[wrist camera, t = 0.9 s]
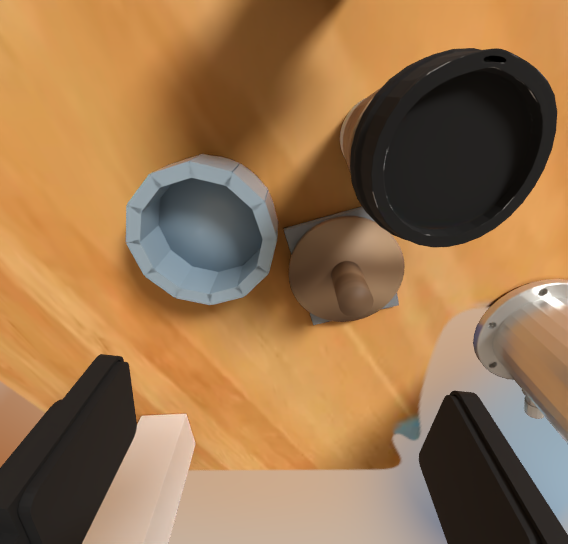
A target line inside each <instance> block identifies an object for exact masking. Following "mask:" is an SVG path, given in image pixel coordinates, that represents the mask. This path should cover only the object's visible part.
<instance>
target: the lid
mask: <svg viewBox="0 0 568 544" xmlns="http://www.w3.org/2000/svg"><path fill="white" fill-rule="evenodd" d="M403 275H404V258H403V253H402V251H401V248H400V246H399V244H398V243H397V241H396V240H395V239H394V237H393V236H392V235H391V234H390V233H389V232H387V231H386V230H384V229H383V228H381V227H380V226H379V225H378V224H377V223H376V222H375V221H372V220H370V219H367V218H364V217H358V216H340V217H335V218H331V219H328V220H325V221H323V222H321V223H319V224H317V225H316V226H314V227H312V228H311V229H310V230H309V231H307V232H306V233H305V234H304V235H303V236H302V237H301V239H300V240H299V241H298V243H297V244H296V246H295V248H294V250H293V252H292V255H291V257H290V262H289V282H290V286H291V290H292V292H293V294H294V296H295V298H296V299H297V301H298V302H299V303H300V305H301V306H303V307H304V308H305V309H306V310H307V311H309V312H310V313H311V314H313V315H315V316H317V317H320V318H322V319H326V320H330V321H337V322H346V321H354V320H359V319H362V318H365V317H368V316H370V315H372V314H374V313H376V312H377V311H379V310H380V309H382V308H383V307H384V306H385V305H387V304H388V303H389V302H390V300H391V299H392V298H393V297H394V296H395V294H396V293H397V291H398V289H399V287H400V285H401V282H402V279H403Z"/></svg>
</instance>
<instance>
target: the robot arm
mask: <svg viewBox="0 0 568 544" xmlns="http://www.w3.org/2000/svg"><path fill="white" fill-rule="evenodd" d="M473 344H474V350H475V353H476V355H477V357H478V359H479V360H480V361H481V363H482V364H483V366H484V367H485V368H486V369H488V370H489V371H490V372H491V373H493V374H495V375H497V376H500V377H503V378H506V379H513V380H515V381H516V382H517V384H518V385H519V386H520V387H521V388H522V391H523V393H524V395H526V397H525V402H524V410H525V412H526V414H527V415H529V416H530V417H532V418H536V419H540V418H543V417H544V416H545V417H546V418H547V420H548V421H549V422H550V423H551V424H552V426H553V427H554V428H555V429H556V430H557V431H558V433H559V434H560V435H561V436H562V438H563V439H564V440H565V441H566V442H567V444H568V280H564V279H546V280H541V281H536V282H532V283H529V284H526V285H523V286H521V287H519V288H517V289H515V290H513V291H511V292H509V293H507V294H506V295H504V296H503V297H501V298H500V299H498V300H497V301H496V302H495V303H494V304H493V305H492V306H491V307H490V308H489V309H488V310H487V311H486V312H485V314H484V315H483V316H482V318H481V320H480V321H479V323H478V325H477V327H476V330H475V334H474V342H473ZM136 429H137V422H136V415H135V407H134V400H133V392H132V385H131V377H130V370H129V364H128V362H124V360H123V358H122V357H121V356H112V355H102V354H101V355H99V356H98V357H97V358H96V359H95V360H94V361H93V362H92V364H91V365H90V366H89V367H88V369H87V370H86V371H85V372H84V374H83V375H82V376H81V377H80V378H79V380H78V381H77V382H76V383H75V385H74V386H73V387H72V388H71V390H70V391H69V392H68V393H67V395H66V396H65V397H64V398H63V400H59V401H57V402H55V403H54V404H53V405H52V406H51V407H50V408H49V410H48V411H47V412H46V413H45V414H44V416H43V417H42V418H41V419H40V420H39V422H38V423H37V424H36V425H35V427H34V428H33V429H32V430H31V431H30V433H29V434H28V435H27V436H26V438H25V439H24V440H23V441H22V442H21V444H20V445H19V446H18V447H17V448H16V450H15V451H14V452H13V453H12V454H11V456H10V457H9V458H8V459H7V460H6V462H5V463H4V464H3V465H2V467H1V468H0V544H82V543H83V541H84V539H85V537H86V534H87V532H88V530H89V528H90V526H91V524H92V522H93V520H94V518H95V516H96V514H97V512H98V510H99V508H100V506H101V504H102V502H103V500H104V498H105V496H106V494H107V492H108V490H109V488H110V486H111V484H112V482H113V480H114V478H115V475H116V473H117V471H118V469H119V467H120V465H121V463H122V461H123V459H124V457H125V455H126V453H127V451H128V449H129V447H130V445H131V443H132V441H133V439H134V436H135V433H136ZM419 463H420V467H421V470H422V473H423V476H424V478H425V481H426V484H427V487H428V489H429V492H430V495H431V498H432V501H433V504H434V506H435V509H436V512H437V515H438V518H439V520H440V523H441V526H442V529H443V532H444V534H445V537H446V540H447V543H448V544H568V535H567V533H566V532H565V530H564V529H563V527H562V525H561V524H560V522H559V521H558V519H557V518H556V516H555V515H554V513H553V511H552V510H551V508H550V507H549V505H548V504H547V502H546V501H545V499H544V497H543V496H542V494H541V493H540V491H539V490H538V488H537V487H536V485H535V484H534V482H533V480H532V479H531V477H530V476H529V474H528V473H527V471H526V470H525V468H524V466H523V465H522V463H521V462H520V460H519V459H518V458H517V456H516V454H515V453H514V451H513V449H512V448H511V446H510V445H509V443H508V442H507V440H506V439H505V437H504V436H503V434H502V433H501V431H500V429H499V428H498V426H497V425H496V423H495V422H494V420H493V419H492V417H491V415H490V414H489V412H488V411H487V409H486V408H485V406H484V405H483V403H482V401H481V400H480V398H479V397H478V396H477V395H476V394H475V393H471V392H461V391H452V392H451V393H450V395H447V396H445V398H444V400H443V402H442V404H441V406H440V409H439V411H438V413H437V415H436V418H435V420H434V422H433V424H432V426H431V428H430V431H429V433H428V435H427V438H426V440H425V442H424V444H423V447H422V449H421V451H420V453H419Z"/></svg>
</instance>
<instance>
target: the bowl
mask: <svg viewBox="0 0 568 544" xmlns="http://www.w3.org/2000/svg"><path fill="white" fill-rule="evenodd" d="M267 189H268V188H267V187H266V186H265V185H264V184H263V182H262V181H261V180H260V179H259V178H258V177H257V176H256V175H255V174H254V173H253V172H252V171H251V170H249V169H248V168H247V167H245V166H243V165H242V164H240V163H239V162H236V161H234V160H231V159H228V158H225V157H221V156H215V155H207V154H200V155H197V156H194V157H190V158H187V159H184V160H182V161H179V162H176V163H172V164H169V165H167V166H165V167H163V168H161V169H159V170H157V171H155V172H152V173H150V174H149V175H148V176H147V178H146V179H145V180H144V182H143V183H142V185H141V186H140V187H139V189H138V190H137V191H136V193H135V194H134V195H133V197H132V198H131V199H130V201H129V202H128V204H127V207H126V242H127V243H126V244H127V246H128V247H129V249H130V251H131V253H132V255H133V256H134V258H135V260H136V262H137V264H138V266H139V267H140V269H141V271H142V273H143V275H145V277H146V278H148V279H149V280H151V281H152V282H153V283H155V284H156V285H158V286H159V287H160V288H162V289H163V290H165V291H166V292H167V293H169V294H170V295H172V296H173V297H174V298H175V297H176V298H177V299H182V300H187V301H192V302H197V303H202V304H207V305H214V304H218V303H222V302H226V301H230V300H234V299H238V298H242V297H244V296H246V295H247V294H248V293H249V292H250V291H251V290H252V289H253V288H254V287H255V286H256V285H257V284H258V283H259V282H260V281H261V280H263V279H264V278H265V277H266V276H267V275H268V273H269V271H270V267H271V263H272V259H273V255H274V250H275V246H276V242H277V235H278V219H277V216H276V210H275V206H274V203H273V200H272V198H271V195H270V193H269V190H267Z"/></svg>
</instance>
